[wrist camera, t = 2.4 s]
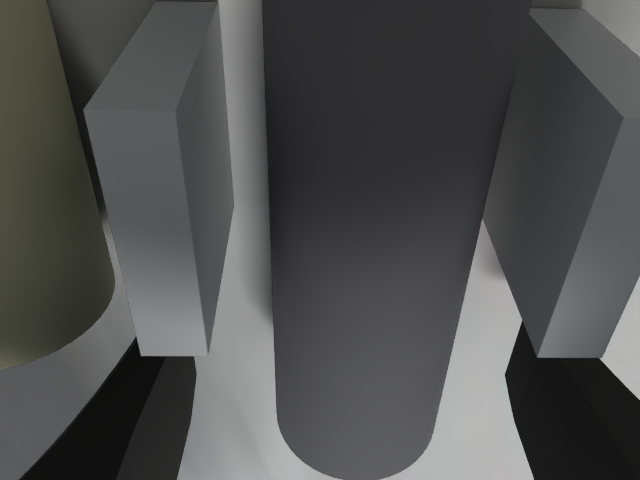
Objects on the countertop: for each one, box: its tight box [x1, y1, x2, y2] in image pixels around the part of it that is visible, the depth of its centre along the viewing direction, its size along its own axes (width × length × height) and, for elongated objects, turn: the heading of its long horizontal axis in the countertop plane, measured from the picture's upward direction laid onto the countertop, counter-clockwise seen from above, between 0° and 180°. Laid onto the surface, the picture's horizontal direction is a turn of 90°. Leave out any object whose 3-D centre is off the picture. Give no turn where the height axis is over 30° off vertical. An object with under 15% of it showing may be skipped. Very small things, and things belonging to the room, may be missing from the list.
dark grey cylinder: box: [262, 0, 532, 480], centre depth 11 cm, size 10×4×4 cm, turn 179°
